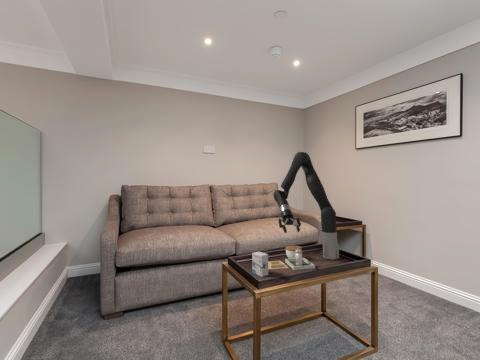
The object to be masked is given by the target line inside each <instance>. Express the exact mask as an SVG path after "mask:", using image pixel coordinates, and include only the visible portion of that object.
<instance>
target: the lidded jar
mask: <svg viewBox="0 0 480 360" xmlns="http://www.w3.org/2000/svg"><path fill="white" fill-rule="evenodd" d="M296 249H301V250H302V251H303V247H302V246H300V245H295V244H292V245H287V246H285V254H286V257H287V259H291V258H296V257H295V250H296Z"/></svg>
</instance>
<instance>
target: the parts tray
mask: <svg viewBox="0 0 480 360" xmlns="http://www.w3.org/2000/svg"><path fill="white" fill-rule="evenodd" d="M284 262H285V263H286V264H287V266H289V267H290V268H291V269H292V270H293V271H298V270H310V269H314V270H315V269H316V265H315V264H314V263H313V262H311V261H309V260H308V259H307V258H305V257H302V262H304V263H306V265H302V266H297V265H294V264H293V263H292V262H296V258H291V259H289V258H284Z"/></svg>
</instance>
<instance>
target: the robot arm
mask: <svg viewBox="0 0 480 360" xmlns="http://www.w3.org/2000/svg"><path fill="white" fill-rule="evenodd" d="M301 168H302V171H303V173H304V175H305V177H304V178H305V181H306V185H307V187H308V191H310V194H311V195H312V197H313V198H314V200H315V201H316V203H317V205H318V208H319V210H320V223H321V224H320V225H321V239H322V240H321V242H322V258H323V259H325V260H330V261H331V260H332V261H333V260H334V261H335V260H338V259H340V245H339V243H338V231H337V229H338V228H337V214H336V210H335V209H334V207H333V206H332V204H331V202H330V201H329V198H328V195H327V193H326V191H325V188H324V186H323V184H322V182H321V179H320V177H319V175H318V173H317V172H316V169H315V167H314V166H313V163H312V160H311V157H310V155H309V153H307V152H305V151H299V152H296V153H295V154H294V155H293V159H292V162H291V164H290V167H289V169H288V171H287V173H286V175H285V177H284V179H283V180H282V182H281V184H280V188H281V189H283V190H279V189H276V190H274V192H273V199H274V201H275V202H276V204H277V205H278V207H279V212H280V216H281V218H278V221H277V222H278V227H279V228H280V229H281V228H282V230H283V232H284V234H286V233H287V231H288V230H287V227H286V226H294V227H295V228H296V232H297V233H300V231H301V229H300V227H301V225H302V222H301V220H300V218H299V217H296V218H295V217H294V215H293V211H292V208H291V207H290V204H289V202H288V200H287V199H288V197H289V194H290V191H291V188H292V186H293V185H294V182H295V180H296V178H297V174H298V172H299V170H300V169H301Z"/></svg>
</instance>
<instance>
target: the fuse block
mask: <svg viewBox="0 0 480 360" xmlns="http://www.w3.org/2000/svg"><path fill="white" fill-rule="evenodd" d="M278 269H289V267H288V265H286V264H285V263H284V262H283V261H281V260H271V261H270V260H268V270H278Z"/></svg>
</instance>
